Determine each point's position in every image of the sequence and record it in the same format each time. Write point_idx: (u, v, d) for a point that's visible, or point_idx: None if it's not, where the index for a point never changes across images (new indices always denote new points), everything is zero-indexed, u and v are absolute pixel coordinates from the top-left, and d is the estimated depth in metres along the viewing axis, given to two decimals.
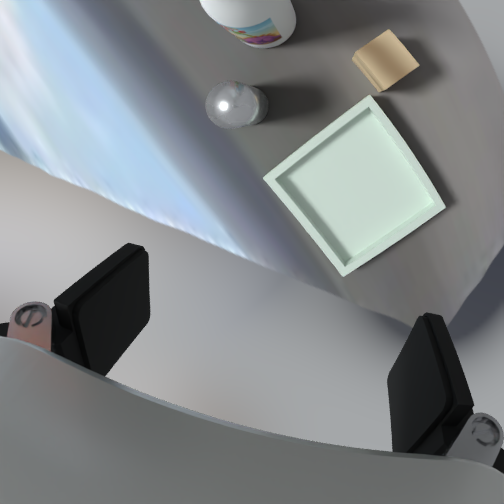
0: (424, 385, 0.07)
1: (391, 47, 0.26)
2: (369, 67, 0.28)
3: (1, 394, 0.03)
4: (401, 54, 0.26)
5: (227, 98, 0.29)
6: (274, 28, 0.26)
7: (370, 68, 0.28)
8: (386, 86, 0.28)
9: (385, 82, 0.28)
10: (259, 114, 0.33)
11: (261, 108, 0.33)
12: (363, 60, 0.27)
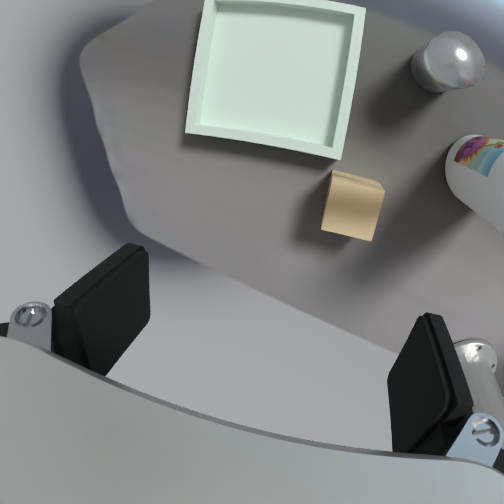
0: (424, 385, 0.07)
1: (357, 224, 0.29)
2: (362, 187, 0.28)
3: (1, 394, 0.03)
4: (343, 224, 0.29)
5: (465, 64, 0.18)
6: (471, 166, 0.22)
7: (360, 186, 0.28)
8: (334, 181, 0.28)
9: (338, 185, 0.28)
10: (421, 65, 0.22)
11: (424, 73, 0.22)
12: (372, 189, 0.27)
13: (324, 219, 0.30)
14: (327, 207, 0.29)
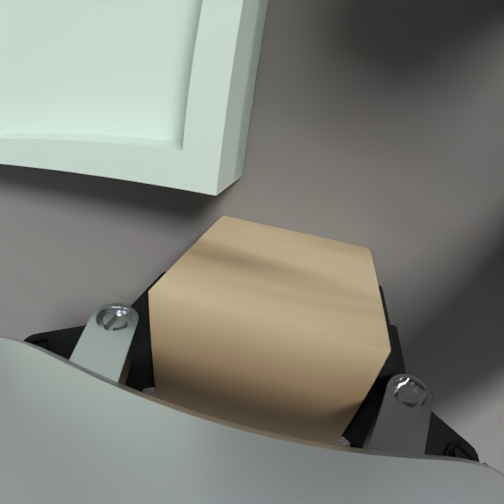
0: None
1: None
2: (283, 332, 0.06)
3: (1, 394, 0.03)
4: None
5: None
6: None
7: (276, 331, 0.06)
8: (157, 303, 0.06)
9: (175, 318, 0.07)
10: None
11: None
12: (331, 343, 0.06)
13: None
14: (158, 380, 0.08)
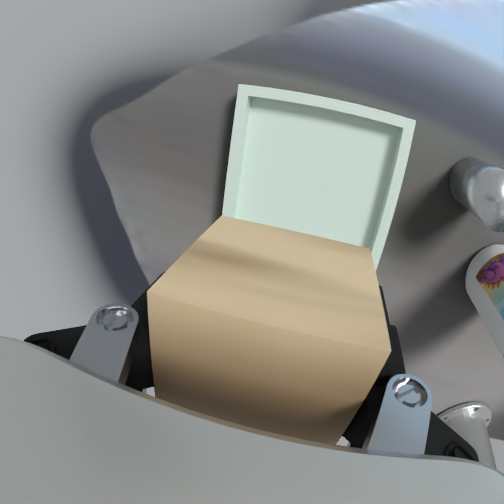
0: None
1: None
2: (283, 332, 0.06)
3: (1, 394, 0.03)
4: None
5: None
6: (492, 298, 0.23)
7: (275, 331, 0.06)
8: (156, 303, 0.06)
9: (173, 318, 0.06)
10: (464, 194, 0.24)
11: (465, 201, 0.24)
12: (331, 344, 0.06)
13: None
14: (157, 381, 0.08)
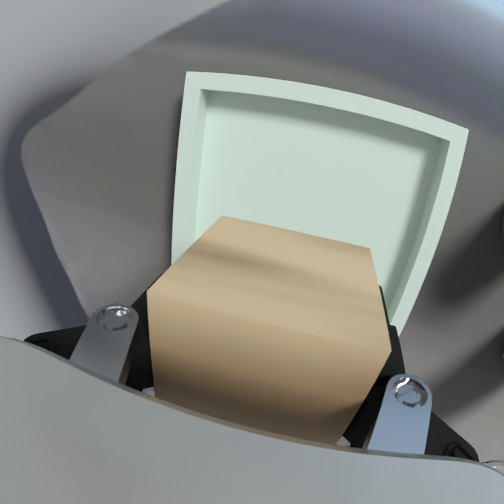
0: None
1: None
2: (283, 332, 0.06)
3: (1, 394, 0.03)
4: None
5: None
6: None
7: (275, 331, 0.06)
8: (156, 303, 0.06)
9: (173, 318, 0.06)
10: None
11: None
12: (331, 343, 0.06)
13: None
14: (157, 381, 0.08)
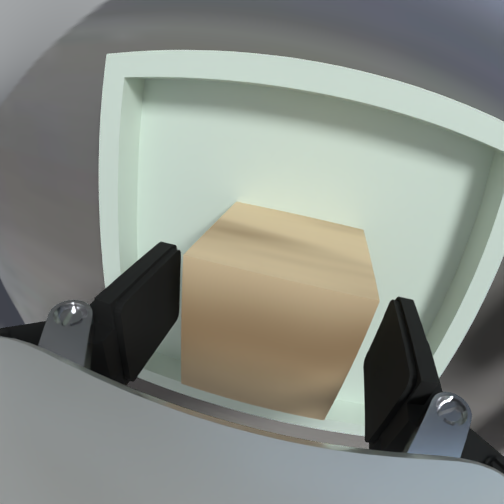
0: (392, 365, 0.08)
1: (281, 386, 0.09)
2: (293, 285, 0.08)
3: (1, 394, 0.03)
4: (240, 382, 0.10)
5: None
6: None
7: (287, 284, 0.08)
8: (190, 265, 0.08)
9: (204, 277, 0.08)
10: None
11: None
12: (331, 294, 0.08)
13: (184, 364, 0.10)
14: (184, 338, 0.09)
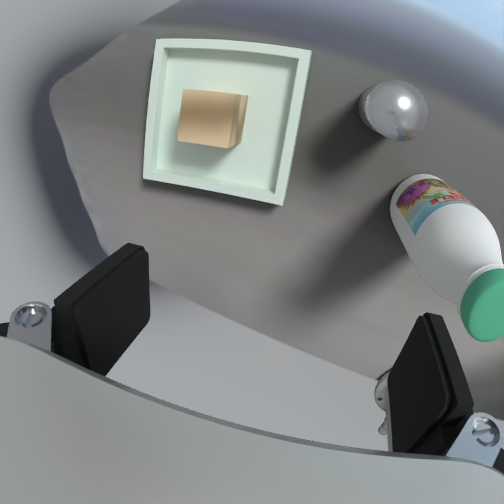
0: (424, 385, 0.07)
1: (211, 131, 0.28)
2: (212, 92, 0.26)
3: (1, 394, 0.03)
4: (197, 133, 0.28)
5: (405, 116, 0.22)
6: (406, 218, 0.26)
7: (210, 92, 0.26)
8: (184, 91, 0.26)
9: (188, 94, 0.26)
10: (363, 113, 0.26)
11: (366, 120, 0.26)
12: (222, 94, 0.26)
13: (179, 130, 0.28)
14: (180, 117, 0.27)
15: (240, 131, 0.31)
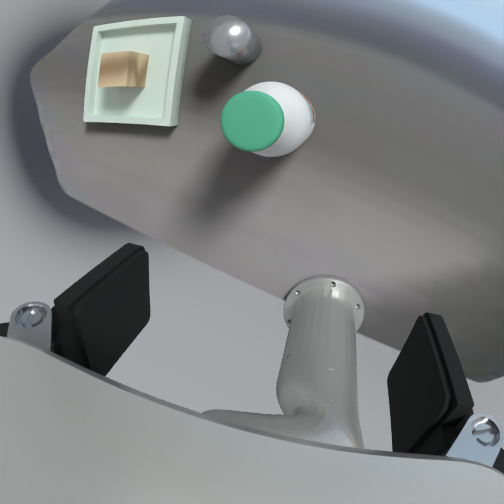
0: (424, 385, 0.07)
1: (116, 77, 0.35)
2: (117, 52, 0.34)
3: (1, 394, 0.03)
4: (109, 79, 0.36)
5: (229, 37, 0.29)
6: None
7: (116, 52, 0.34)
8: (102, 55, 0.34)
9: (104, 56, 0.34)
10: None
11: None
12: (122, 52, 0.34)
13: (98, 80, 0.36)
14: (99, 72, 0.36)
15: (142, 78, 0.39)
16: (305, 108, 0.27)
